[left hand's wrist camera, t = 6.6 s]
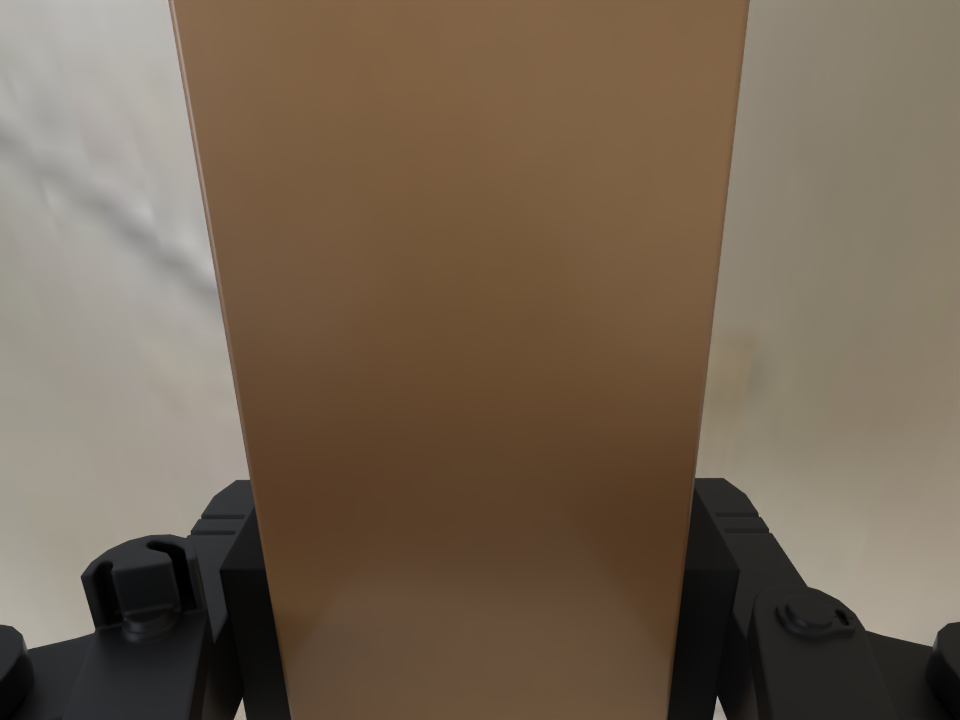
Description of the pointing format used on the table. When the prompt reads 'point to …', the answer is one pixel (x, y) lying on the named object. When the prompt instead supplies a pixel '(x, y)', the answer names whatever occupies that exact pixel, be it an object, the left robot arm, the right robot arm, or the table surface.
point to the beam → (468, 334)
